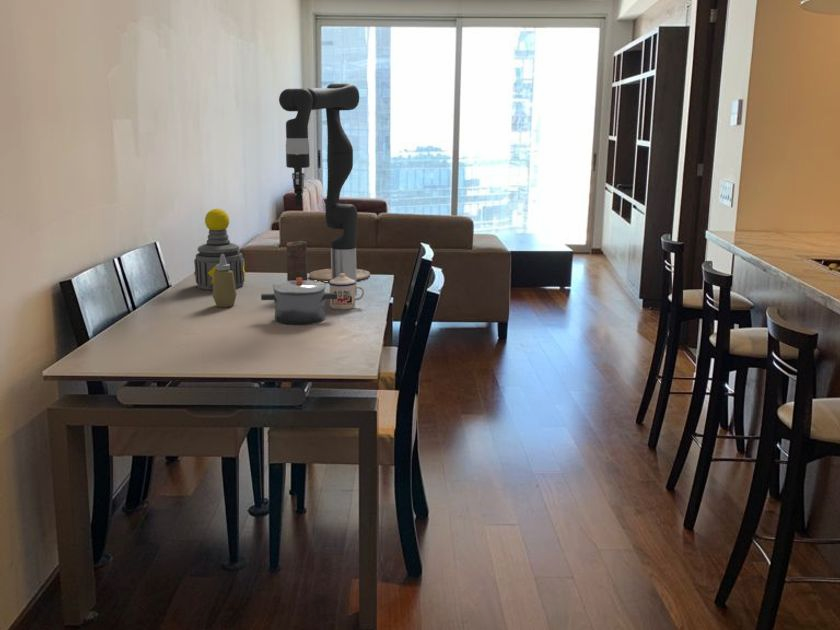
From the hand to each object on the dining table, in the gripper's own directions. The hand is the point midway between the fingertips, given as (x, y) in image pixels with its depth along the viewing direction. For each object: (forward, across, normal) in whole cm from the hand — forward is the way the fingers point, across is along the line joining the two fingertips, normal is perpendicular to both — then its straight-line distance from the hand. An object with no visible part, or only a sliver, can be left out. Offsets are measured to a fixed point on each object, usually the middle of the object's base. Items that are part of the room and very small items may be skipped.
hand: (299, 206), depth 264 cm
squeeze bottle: (+35, -9, -27) cm, 45 cm away
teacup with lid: (+35, -4, +15) cm, 38 cm away
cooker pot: (+35, +13, 0) cm, 37 cm away
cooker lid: (+25, +13, 0) cm, 28 cm away
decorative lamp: (+35, -45, -34) cm, 66 cm away
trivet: (+36, -61, +12) cm, 72 cm away
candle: (+35, -24, -3) cm, 43 cm away
